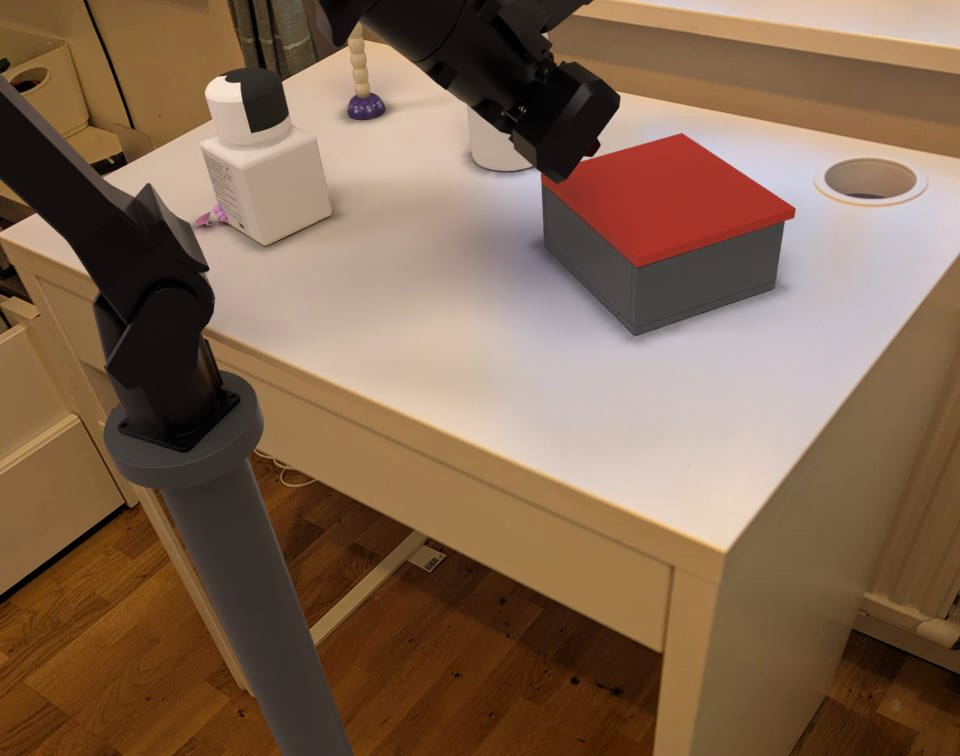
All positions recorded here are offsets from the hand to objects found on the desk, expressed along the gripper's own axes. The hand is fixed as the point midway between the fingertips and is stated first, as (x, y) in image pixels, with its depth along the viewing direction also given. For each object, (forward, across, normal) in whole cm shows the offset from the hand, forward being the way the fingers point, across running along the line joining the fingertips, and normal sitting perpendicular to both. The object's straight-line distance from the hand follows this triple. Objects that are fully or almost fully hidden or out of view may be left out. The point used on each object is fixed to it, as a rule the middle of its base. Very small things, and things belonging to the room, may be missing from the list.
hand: (594, 149), depth 67 cm
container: (-6, +25, +22) cm, 34 cm away
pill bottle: (+11, +25, +5) cm, 28 cm away
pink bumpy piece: (-10, +27, +26) cm, 39 cm away
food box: (+12, 0, +4) cm, 12 cm away
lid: (+8, 0, 0) cm, 8 cm away
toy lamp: (+5, +44, +11) cm, 45 cm away
